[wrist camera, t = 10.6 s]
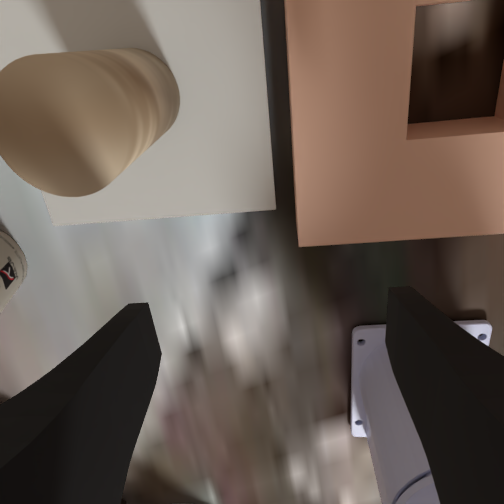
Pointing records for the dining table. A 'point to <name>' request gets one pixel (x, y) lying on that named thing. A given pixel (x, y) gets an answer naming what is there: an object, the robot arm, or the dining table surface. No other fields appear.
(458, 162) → the square board with hole
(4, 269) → the coffee cup
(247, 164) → the mat
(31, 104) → the plug
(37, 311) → the dining table surface
